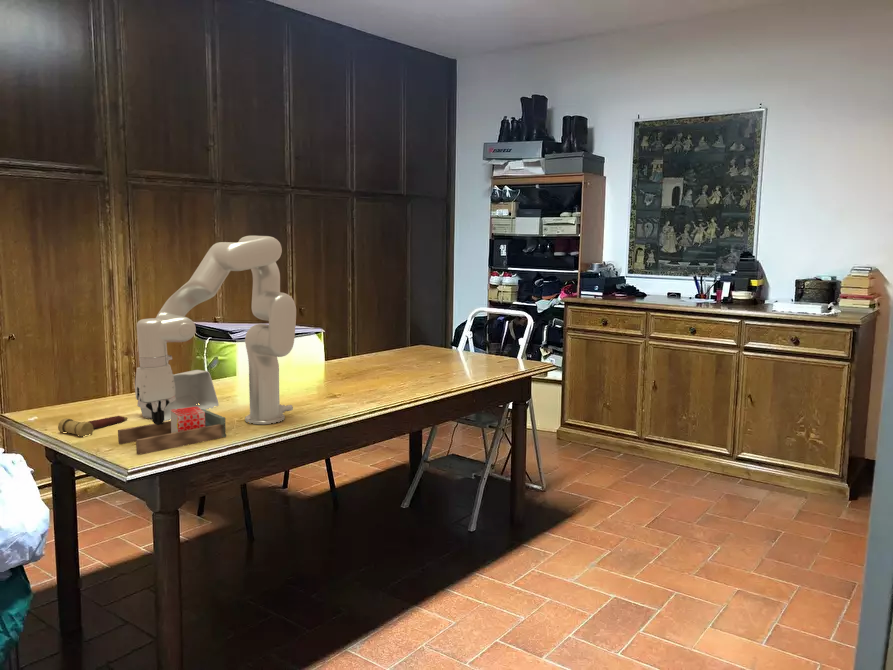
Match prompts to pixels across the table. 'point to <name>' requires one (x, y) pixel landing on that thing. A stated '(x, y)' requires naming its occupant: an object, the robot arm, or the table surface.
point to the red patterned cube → (187, 419)
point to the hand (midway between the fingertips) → (158, 423)
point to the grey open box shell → (189, 393)
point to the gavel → (87, 425)
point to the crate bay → (172, 434)
